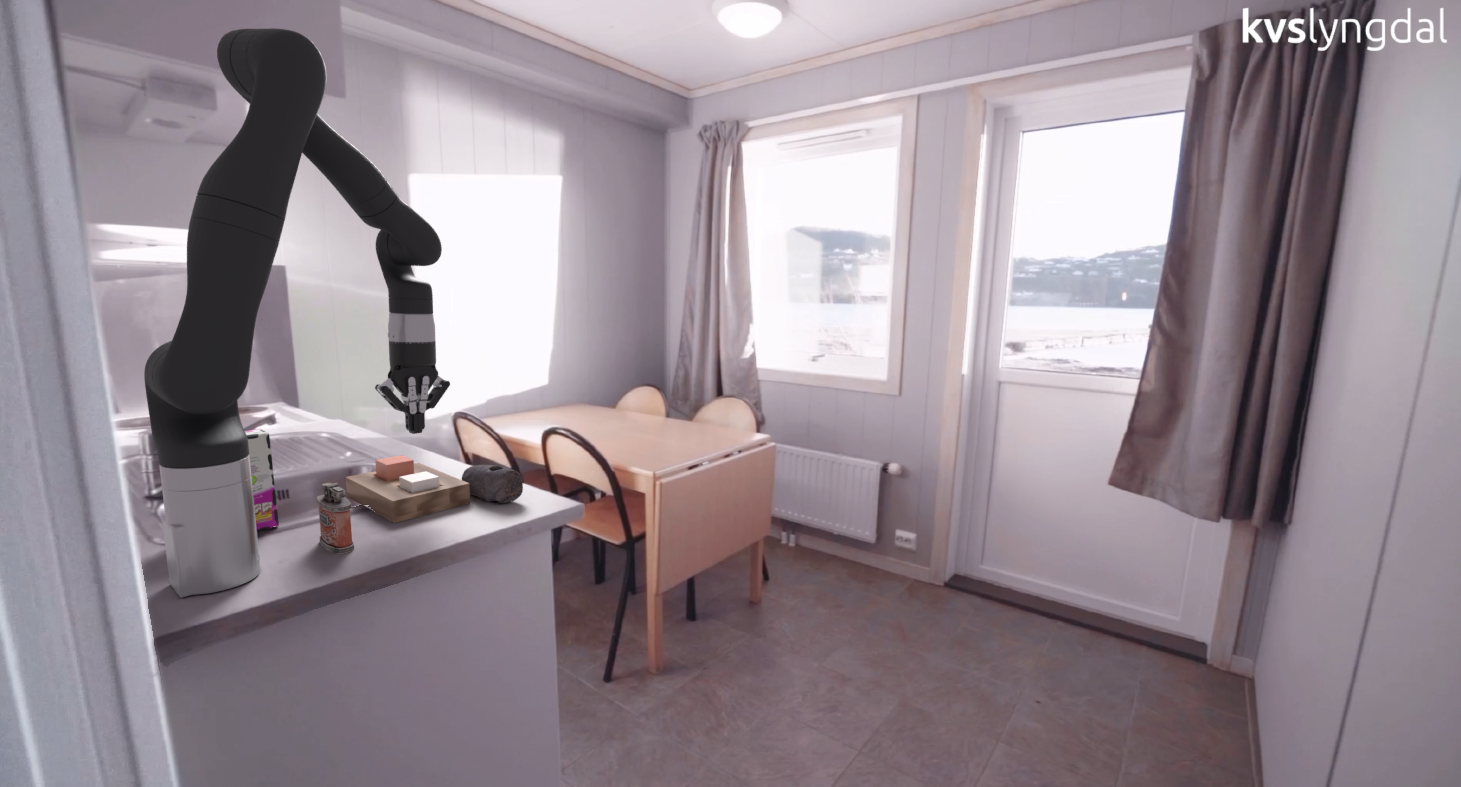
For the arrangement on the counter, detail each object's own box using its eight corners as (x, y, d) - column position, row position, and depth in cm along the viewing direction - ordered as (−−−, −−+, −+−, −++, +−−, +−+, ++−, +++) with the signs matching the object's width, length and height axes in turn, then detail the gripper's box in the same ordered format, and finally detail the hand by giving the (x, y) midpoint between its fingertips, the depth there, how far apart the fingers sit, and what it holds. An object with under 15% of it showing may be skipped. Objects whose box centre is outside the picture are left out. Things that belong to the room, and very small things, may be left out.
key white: (413, 503, 112) (411, 482, 111) (400, 497, 115) (399, 476, 114) (440, 497, 115) (439, 476, 115) (427, 491, 118) (426, 471, 118)
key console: (394, 523, 107) (392, 501, 106) (347, 496, 119) (345, 476, 118) (470, 503, 118) (469, 483, 117) (419, 481, 130) (419, 462, 129)
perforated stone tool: (453, 494, 122) (451, 461, 121) (475, 488, 127) (474, 455, 126) (503, 510, 115) (503, 474, 114) (526, 502, 119) (525, 468, 118)
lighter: (314, 541, 98) (309, 481, 97) (338, 535, 101) (333, 477, 99) (335, 555, 93) (330, 493, 92) (359, 549, 96) (355, 487, 95)
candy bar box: (269, 520, 106) (261, 427, 104) (279, 527, 103) (271, 432, 101) (185, 539, 97) (173, 438, 95) (194, 547, 95) (182, 444, 92)
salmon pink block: (387, 485, 117) (386, 465, 117) (376, 479, 120) (375, 459, 120) (414, 479, 121) (413, 460, 121) (402, 474, 124) (401, 455, 124)
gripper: (382, 341, 103) (387, 442, 106) (458, 339, 113) (460, 431, 116) (363, 338, 107) (368, 434, 110) (437, 336, 118) (440, 424, 120)
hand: (415, 432), depth 113 cm, fingers closed
